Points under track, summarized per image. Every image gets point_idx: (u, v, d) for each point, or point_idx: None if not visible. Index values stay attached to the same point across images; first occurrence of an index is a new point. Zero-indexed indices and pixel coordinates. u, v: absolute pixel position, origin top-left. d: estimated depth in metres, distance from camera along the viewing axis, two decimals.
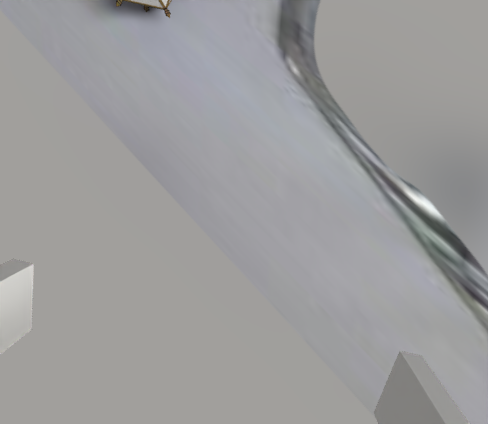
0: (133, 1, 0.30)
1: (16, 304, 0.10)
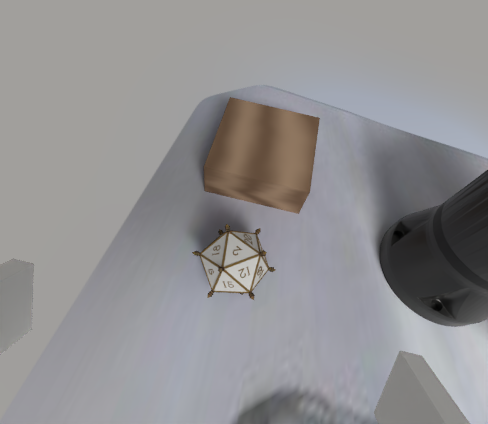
0: (203, 264, 0.33)
1: (16, 304, 0.10)
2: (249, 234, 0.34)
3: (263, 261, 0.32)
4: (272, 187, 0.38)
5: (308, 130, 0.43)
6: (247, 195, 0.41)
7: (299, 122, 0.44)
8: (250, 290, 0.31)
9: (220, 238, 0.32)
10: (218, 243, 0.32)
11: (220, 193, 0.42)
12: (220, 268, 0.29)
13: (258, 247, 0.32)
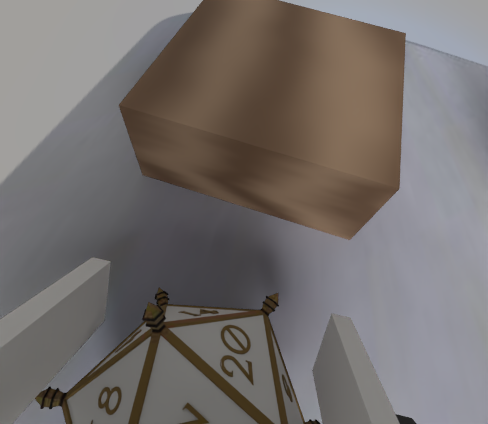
0: None
1: (98, 297, 0.11)
2: (243, 322, 0.10)
3: None
4: (295, 170, 0.15)
5: (384, 53, 0.19)
6: (232, 188, 0.18)
7: (361, 36, 0.20)
8: None
9: (129, 354, 0.08)
10: (119, 378, 0.08)
11: (175, 182, 0.19)
12: None
13: (276, 392, 0.08)
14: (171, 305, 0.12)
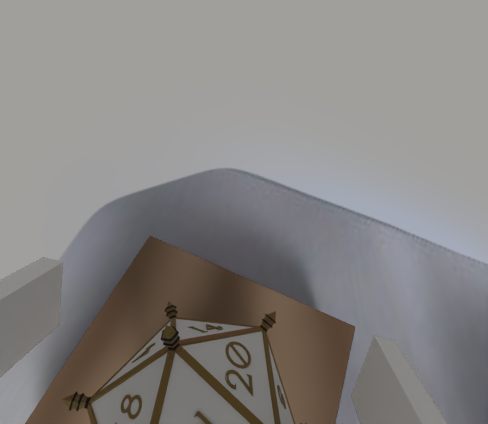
0: None
1: (47, 300, 0.10)
2: (244, 338, 0.11)
3: None
4: None
5: (320, 372, 0.16)
6: None
7: (300, 336, 0.17)
8: None
9: (147, 367, 0.10)
10: (139, 387, 0.09)
11: None
12: None
13: (272, 402, 0.10)
14: (180, 318, 0.13)
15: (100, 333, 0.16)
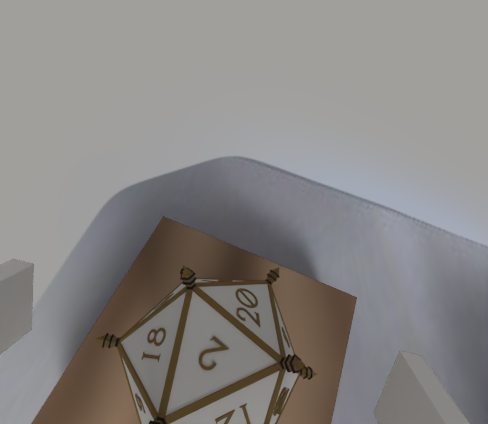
0: (125, 370, 0.12)
1: (16, 304, 0.10)
2: (252, 287, 0.13)
3: (290, 371, 0.11)
4: None
5: (325, 338, 0.18)
6: None
7: (305, 306, 0.18)
8: None
9: (169, 305, 0.11)
10: (162, 322, 0.11)
11: None
12: None
13: (277, 333, 0.11)
14: None
15: (121, 304, 0.17)
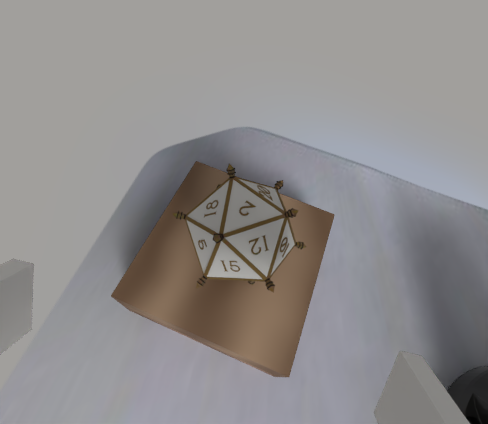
0: (190, 232, 0.20)
1: (16, 304, 0.10)
2: (266, 187, 0.21)
3: (290, 229, 0.19)
4: (225, 349, 0.21)
5: (311, 238, 0.25)
6: (190, 336, 0.25)
7: (298, 219, 0.26)
8: (268, 276, 0.18)
9: (218, 189, 0.19)
10: (215, 198, 0.19)
11: (152, 320, 0.26)
12: (217, 235, 0.16)
13: (282, 205, 0.19)
14: None
15: (171, 215, 0.25)
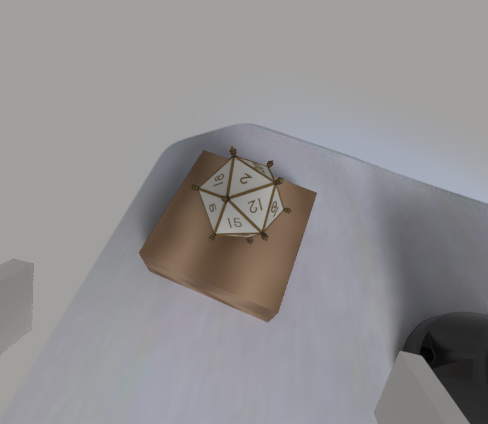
0: (202, 200, 0.26)
1: (16, 304, 0.10)
2: (260, 165, 0.27)
3: (278, 195, 0.25)
4: (228, 294, 0.27)
5: (298, 211, 0.32)
6: (199, 289, 0.30)
7: (287, 196, 0.32)
8: (262, 230, 0.24)
9: (223, 166, 0.25)
10: (221, 172, 0.25)
11: (168, 278, 0.32)
12: (224, 196, 0.22)
13: (272, 177, 0.25)
14: None
15: (184, 192, 0.31)
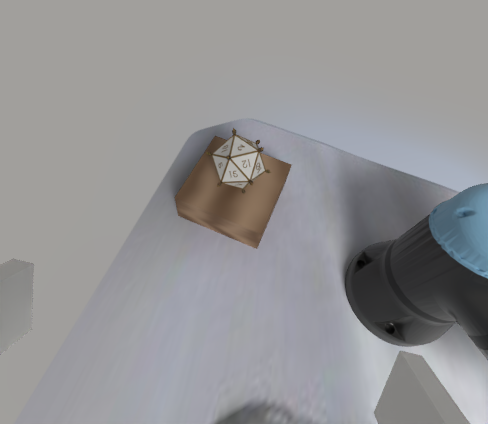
0: (214, 161, 0.42)
1: (16, 304, 0.10)
2: (251, 141, 0.43)
3: (261, 159, 0.41)
4: (231, 224, 0.43)
5: (278, 175, 0.47)
6: (212, 225, 0.46)
7: (271, 166, 0.48)
8: (250, 179, 0.40)
9: (228, 140, 0.41)
10: (226, 144, 0.41)
11: (191, 220, 0.48)
12: (228, 156, 0.38)
13: (257, 148, 0.41)
14: None
15: (202, 162, 0.47)
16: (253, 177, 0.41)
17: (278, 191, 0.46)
